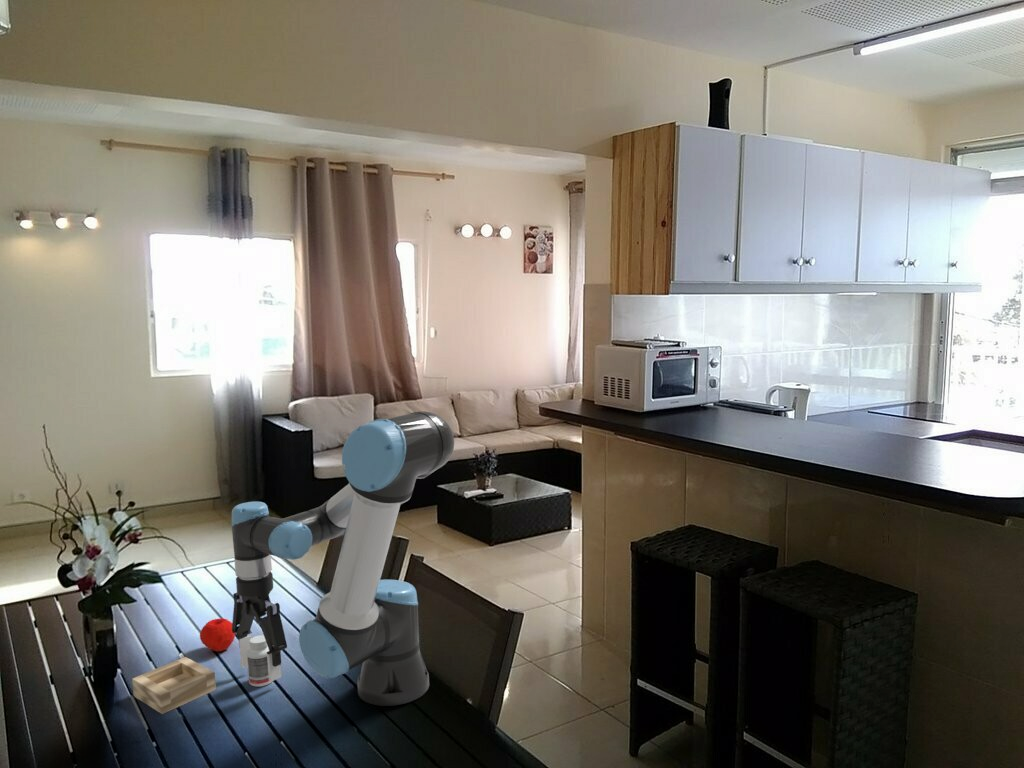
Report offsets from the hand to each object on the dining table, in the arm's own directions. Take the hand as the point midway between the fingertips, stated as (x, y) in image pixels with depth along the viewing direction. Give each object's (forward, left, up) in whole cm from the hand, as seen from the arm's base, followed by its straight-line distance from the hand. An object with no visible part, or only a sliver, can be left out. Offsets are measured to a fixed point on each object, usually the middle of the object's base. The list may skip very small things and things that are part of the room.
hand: (261, 671), depth 171 cm
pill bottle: (0, 0, -2) cm, 2 cm away
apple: (+22, -3, -2) cm, 22 cm away
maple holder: (+11, +14, -2) cm, 18 cm away
